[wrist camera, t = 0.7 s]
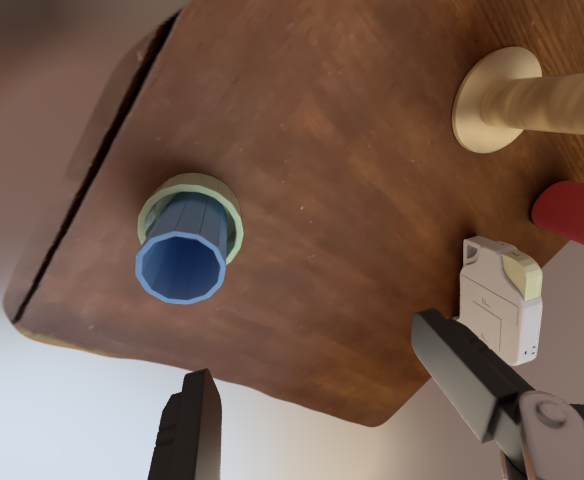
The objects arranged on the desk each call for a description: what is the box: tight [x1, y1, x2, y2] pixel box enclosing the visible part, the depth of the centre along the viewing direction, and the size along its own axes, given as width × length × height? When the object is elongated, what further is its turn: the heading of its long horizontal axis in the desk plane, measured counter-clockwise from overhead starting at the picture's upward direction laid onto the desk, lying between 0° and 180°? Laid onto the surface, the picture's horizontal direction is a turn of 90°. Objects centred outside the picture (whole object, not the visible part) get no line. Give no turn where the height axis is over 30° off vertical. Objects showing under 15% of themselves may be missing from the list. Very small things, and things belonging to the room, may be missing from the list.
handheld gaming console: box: [453, 236, 543, 366], centre depth 36 cm, size 11×3×15 cm
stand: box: [452, 47, 584, 153], centre depth 23 cm, size 10×10×15 cm
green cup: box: [137, 173, 243, 265], centre depth 26 cm, size 9×9×4 cm
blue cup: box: [135, 191, 227, 304], centre depth 23 cm, size 6×6×10 cm
